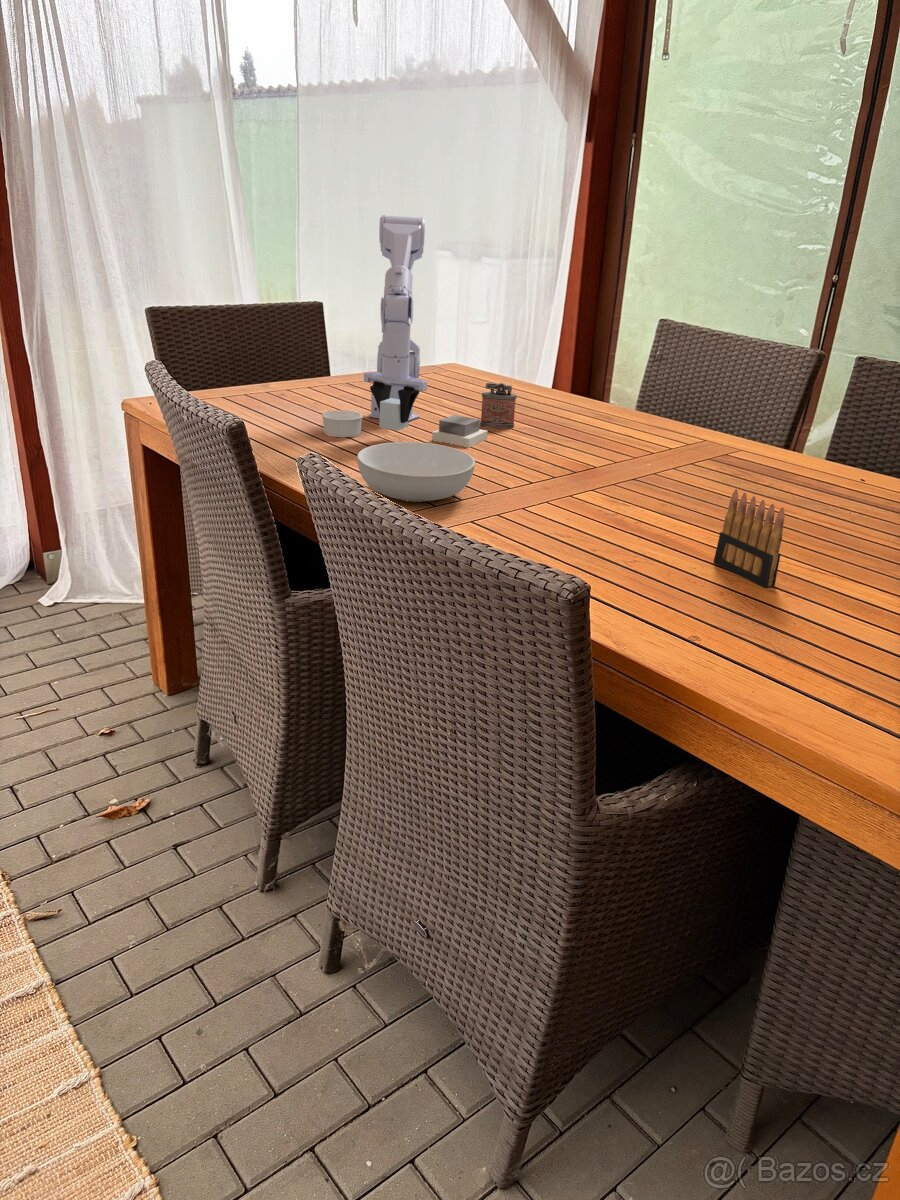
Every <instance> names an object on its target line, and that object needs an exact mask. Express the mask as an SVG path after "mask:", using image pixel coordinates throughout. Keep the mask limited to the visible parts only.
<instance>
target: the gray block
mask: <svg viewBox="0 0 900 1200" xmlns="http://www.w3.org/2000/svg"><path fill="white" fill-rule="evenodd" d="M408 427H409V419H408V422H405V423H401V420H400V399H394V398H390V399H387V400H384V401H380V419H379V428H382V429H386V430H390V431H397V432H398V431H400V430H403V429H405V428H408Z"/></svg>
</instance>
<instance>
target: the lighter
mask: <svg viewBox="0 0 900 1200" xmlns="http://www.w3.org/2000/svg"><path fill="white" fill-rule="evenodd" d="M484 387H485V389H489V390H490V391H482V393H481V397H482V399H481V401H482V402H481V415H480V416H481V417H480V426H482V427H486V428H487V427H489V428H498V429H500V428H501V429H513V428H515V422H514V421H515V413H516V412H515V411H516V410H515V409H516V401H517V400H516V399H517V398H518V397H517V394H515V393H512V390H513V385H512V384H506V383H504V382H499V383H496V382H486V383H485V386H484ZM495 390H496V391H495Z"/></svg>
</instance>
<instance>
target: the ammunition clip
mask: <svg viewBox="0 0 900 1200" xmlns="http://www.w3.org/2000/svg"><path fill="white" fill-rule="evenodd" d="M747 505H748V506H747ZM756 509H757V510H756ZM775 510H776V509H775V504H774V503H771V504H770V506H769V507H768V510H767V512H766V503H765V499H762V500H761V501H760V503H759V505H758V508H757V500H756V496H752V498H751V499H750V501H749V503H748V497H747V493H746V492H743V493H742V495H741V497H740V499H739V491H738V489H734V491H733V493H732V494H731V497H730V499H729V504H728V506H727V511H726V514H725V516H724V521H723V527H722V531H720V532H719V536H718V540H717V546H716V549H715V554H714V559H713V563H714V564H715V565H717V566H719V567H722V568H723V569H725V570H728V571H730V572H731V573H733V574H736V575H738V576H739V577H742V578H743V579H746V580H748V581H750V582H752V583H753V584H756V585H757V586H760V587H762V588H764V589H769V588H774V587H775V586H776V582H777V581H776V580H777V576H778V572H779V571H778V570H779V564H780V560H781V553H780V550H781V549H780V548H781V545H782V544H781V543H782V541H783V531H784V524H785V508H784V507H783V506H782V507H781V508H780V510H779V511H778V513H777V515H776V517H775V513H776V511H775ZM765 512H766V513H765Z"/></svg>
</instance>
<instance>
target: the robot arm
mask: <svg viewBox="0 0 900 1200" xmlns="http://www.w3.org/2000/svg"><path fill="white" fill-rule="evenodd" d="M425 227H426V220H425V218H424V217H423V216H420V217H414V216H413V217H410V216H396V215H395V216H394V215H385V214H382V215H381V216H380V218H379V233H378V235H379V244H380V245H379V246H380V252H381V256H383V257H384V258H386V259H388V260H389V262H390V265H391V267H390V268H388V269H387V270H386V272H385V275H384V276H385V277H384V289H383V296H382V297H381V299H380V323H381V333H382V340H381V341H380V342H379V345H378V347H377V348H378V350H377V351H378V352H377V359H376V371H365V372H363V382H364V383H372V385H370V387H369V390H370V392H371V394H370V395H371V398H370V399H371V400H370V401H371V402H370V403H371V404H370V406H371V407H370V411H371V412H370V414H369V416H368V417H369V418H374V419H379V420H380V401H384V400H387V399H390V398H394V399H400V420H401V423H405V422H408V423H409V421H410V422H411V421H412V420H415V419H418V418H420V416H421V415H420V414H416V413H414V412H413V411H414V403H415V401H416V399H417V397H418V396H419V394H420V393H421V392H425V391H428V380H424V379H420V369H421V367H420V366H421V363H420V362H421V354H420V353H421V352H420V349H421V348H420V345H419V343H417V342H416V341H415V340H414V339H413V338H412V337H411V325H412V324H413V320H414V297H413V281H414V280H413V279H414V278H413V274H412V270H413V269H412V268H413V266H414V263H415V261H416V260H417V261H418V260H420V259H422V258H423V254H424V246H425V232H426V229H425ZM408 419H409V421H408Z"/></svg>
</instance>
